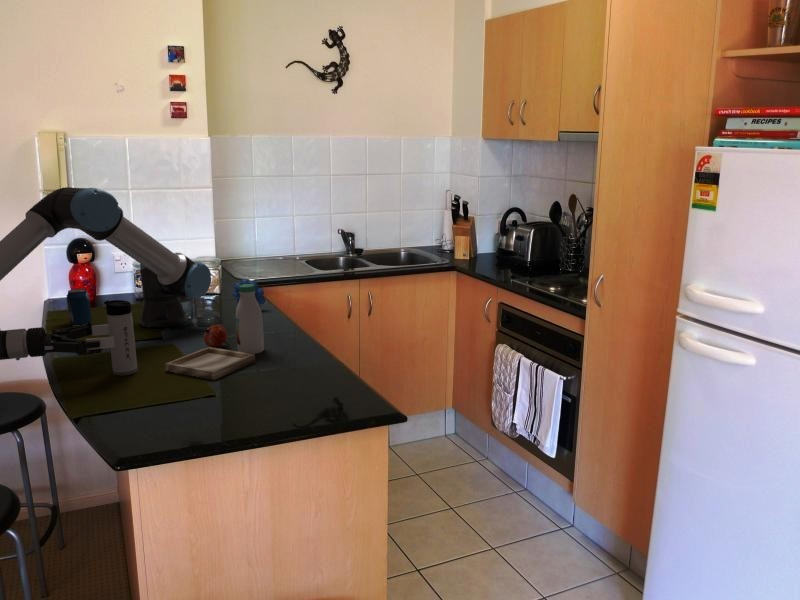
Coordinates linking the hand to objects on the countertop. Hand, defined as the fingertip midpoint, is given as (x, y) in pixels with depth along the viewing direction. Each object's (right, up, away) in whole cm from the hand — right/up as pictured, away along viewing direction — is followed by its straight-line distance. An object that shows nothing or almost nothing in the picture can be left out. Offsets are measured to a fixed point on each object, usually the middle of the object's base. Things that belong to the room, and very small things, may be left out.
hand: (116, 335), depth 191 cm
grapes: (+21, +5, +68) cm, 71 cm away
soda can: (-33, +1, +53) cm, 63 cm away
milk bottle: (+32, -6, +21) cm, 38 cm away
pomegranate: (+21, -5, +25) cm, 33 cm away
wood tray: (+24, -9, +7) cm, 26 cm away
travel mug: (+1, -10, +3) cm, 11 cm away
